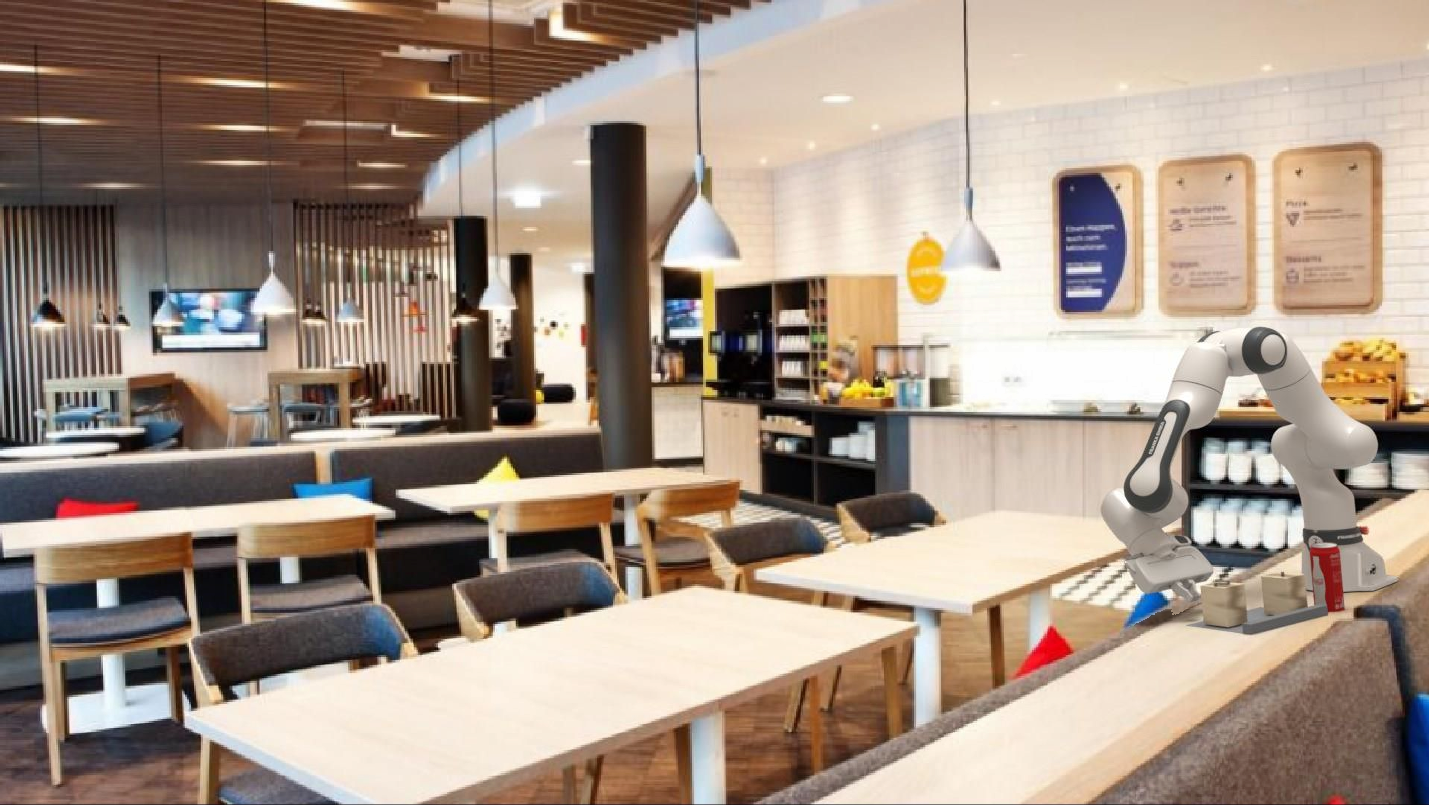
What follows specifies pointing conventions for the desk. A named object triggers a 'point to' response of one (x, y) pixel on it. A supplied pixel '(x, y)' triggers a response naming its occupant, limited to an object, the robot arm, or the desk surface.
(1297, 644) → the desk surface
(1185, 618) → the desk surface
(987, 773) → the desk surface
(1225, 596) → the wooden digit block 2
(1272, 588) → the wooden number block 1
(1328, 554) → the beverage can
